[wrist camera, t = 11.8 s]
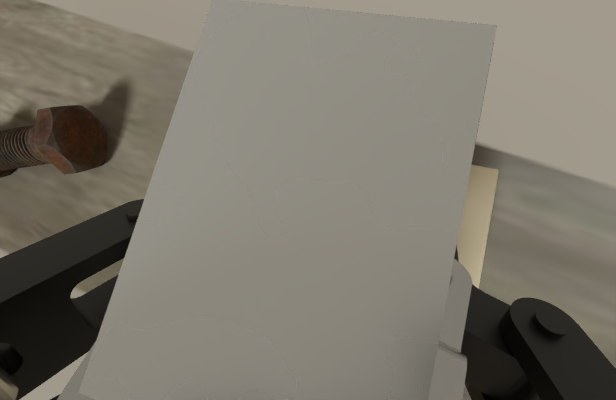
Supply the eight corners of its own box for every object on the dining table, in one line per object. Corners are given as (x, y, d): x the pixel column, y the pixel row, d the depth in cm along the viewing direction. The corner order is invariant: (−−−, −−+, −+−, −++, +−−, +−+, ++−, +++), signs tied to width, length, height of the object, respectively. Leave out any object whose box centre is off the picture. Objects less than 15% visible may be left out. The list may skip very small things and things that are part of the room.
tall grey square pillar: (387, 213, 17) (497, 25, 3) (367, 305, 16) (404, 532, 3) (326, 199, 18) (212, -2, 4) (304, 287, 17) (78, 391, 3)
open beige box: (449, 201, 22) (499, 169, 14) (421, 348, 20) (458, 402, 13) (288, 167, 24) (254, 124, 16) (253, 296, 23) (197, 315, 15)
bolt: (-8, 165, 32) (120, 145, 29) (-47, 203, 28) (93, 184, 26) (-71, 117, 27) (72, 88, 25) (-126, 155, 24) (33, 127, 21)
